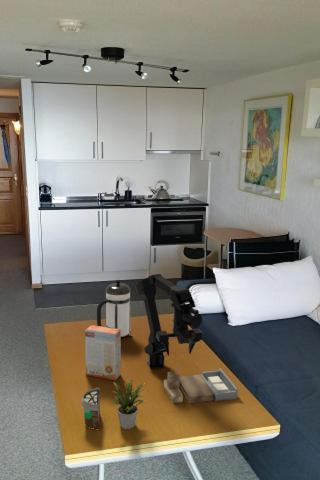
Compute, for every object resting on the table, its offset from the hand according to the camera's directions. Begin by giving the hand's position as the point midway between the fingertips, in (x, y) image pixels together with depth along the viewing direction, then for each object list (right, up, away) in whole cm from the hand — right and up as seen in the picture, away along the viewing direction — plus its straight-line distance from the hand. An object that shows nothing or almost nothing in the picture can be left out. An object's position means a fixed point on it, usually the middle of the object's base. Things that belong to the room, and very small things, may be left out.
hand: (178, 354), depth 189 cm
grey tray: (+16, -13, -3) cm, 21 cm away
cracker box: (-32, -10, +6) cm, 34 cm away
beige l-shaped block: (-3, -14, -8) cm, 16 cm away
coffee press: (-30, -2, +46) cm, 55 cm away
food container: (-32, -17, -28) cm, 46 cm away
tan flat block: (+6, -13, -6) cm, 16 cm away
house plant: (-18, -18, -30) cm, 40 cm away
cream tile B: (+15, -12, 0) cm, 19 cm away
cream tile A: (+16, -13, -6) cm, 22 cm away
